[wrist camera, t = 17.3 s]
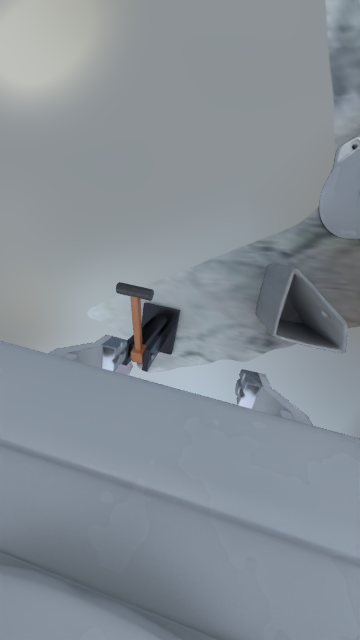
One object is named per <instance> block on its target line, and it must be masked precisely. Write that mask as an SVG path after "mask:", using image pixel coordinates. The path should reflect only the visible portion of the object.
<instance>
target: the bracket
mask: <svg viewBox="0 0 360 640" xmlns="http://www.w3.org/2000/svg"><path fill="white" fill-rule="evenodd" d="M179 314H180V310H176V309H172V308H168V307H163V306H159V305H155V304H150V303H144V308H143V316H142V324H141V325H142V344H143V345H147V347H146V349H145V353H144V360H143V367H142V370H144V371H148V369H149V367H150V366H151V364H152V362H153V361H154V359H155V357H156V356H157V354H158V352H163V353H166V354H170V355H171V354H172V350H173V345H174V340H175V335H176V330H177V325H178V319H179ZM134 345H135V342H134V335H133V336H132V337H131V338H130V339H128V340H127V346H126V347H125V350H126V356H125V359H124V361H123V363H122V365H125V366H127V365H128V364H129V362H130V361H131V360H132V359H131V351H132V349H133V347H134Z"/></svg>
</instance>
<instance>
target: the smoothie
mask: <svg viewBox="0 0 360 640" xmlns="http://www.w3.org/2000/svg"><path fill="white" fill-rule="evenodd" d="M131 369H132V363H131V361H130V362H129V364H128V365H127V366H125V365H122V364H119V365H118V368H117V369H116V370H115V372H117V373H121V374H125V375H129V373H130V371H131Z"/></svg>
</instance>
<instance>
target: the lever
mask: <svg viewBox="0 0 360 640" xmlns="http://www.w3.org/2000/svg"><path fill="white" fill-rule="evenodd" d="M116 292H117V293H120V294H123V295H128V296H131V308H132V319H133V331H134V342H135V345H134V347H133V349H132V351H131V359H132V361H133V362H137V363H141V364H143V360H144V353H145V349H146V347H147V345H143V344H142V325H141V303H140V298H141V299H145V300H150V301H151V300H152V298H153V295H154V291H153V290H152V289H148V288H143V287H139V286H134V285H129V284H125V283H120V282H119V283H118V284H117V286H116Z"/></svg>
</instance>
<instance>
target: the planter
mask: <svg viewBox="0 0 360 640" xmlns="http://www.w3.org/2000/svg"><path fill="white" fill-rule="evenodd" d="M326 314H327V315H329V316H327V315H326ZM256 315H257V316H258V318H259V319H260V320H261V321H262V323H263V324H264V325H265V327H266V328H267V329H268V331H269V332H270V333H271V334H272V336H273V337H276V338H279V339H282V340H285V341H289V342H292V343H296V344H300V345H305V346H309V347H314V348H318V349H323V350H328V351H333V352H338V353H345V352H346V346H347V322H346V321H345V320H344V319H343V317H342V316H341V315H340V314H339V313H338V312H337V311H336V310H335V309H334V307H333V306H332V305H331V304H330V303H329V302H328V301H327V300H326V299H325V298H324V296H323V295H322V294H321V293H320V292H319V291H318V290H317V289H316V288H315V286H314V285H313V284H312V283H311V282H310V281H309V280H308V279H307V278H306V277H305V276H304V275H303V274H302V273H301V271H300V270H299V269H298V268H296V267H292V266H282V265H268V267H267V271H266V274H265V277H264V281H263V284H262V288H261V292H260V296H259V300H258V304H257V310H256Z"/></svg>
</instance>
